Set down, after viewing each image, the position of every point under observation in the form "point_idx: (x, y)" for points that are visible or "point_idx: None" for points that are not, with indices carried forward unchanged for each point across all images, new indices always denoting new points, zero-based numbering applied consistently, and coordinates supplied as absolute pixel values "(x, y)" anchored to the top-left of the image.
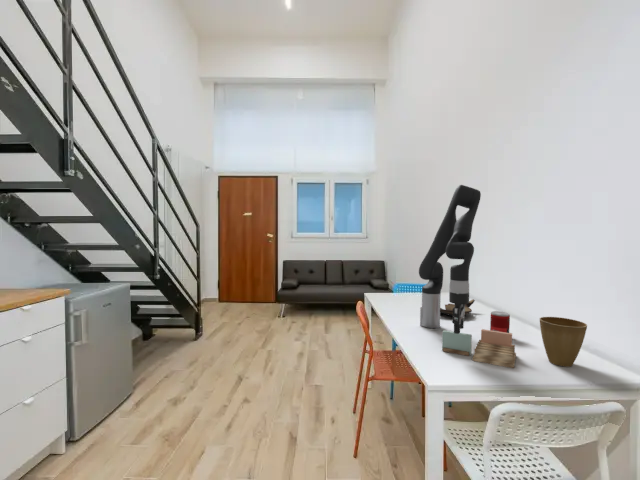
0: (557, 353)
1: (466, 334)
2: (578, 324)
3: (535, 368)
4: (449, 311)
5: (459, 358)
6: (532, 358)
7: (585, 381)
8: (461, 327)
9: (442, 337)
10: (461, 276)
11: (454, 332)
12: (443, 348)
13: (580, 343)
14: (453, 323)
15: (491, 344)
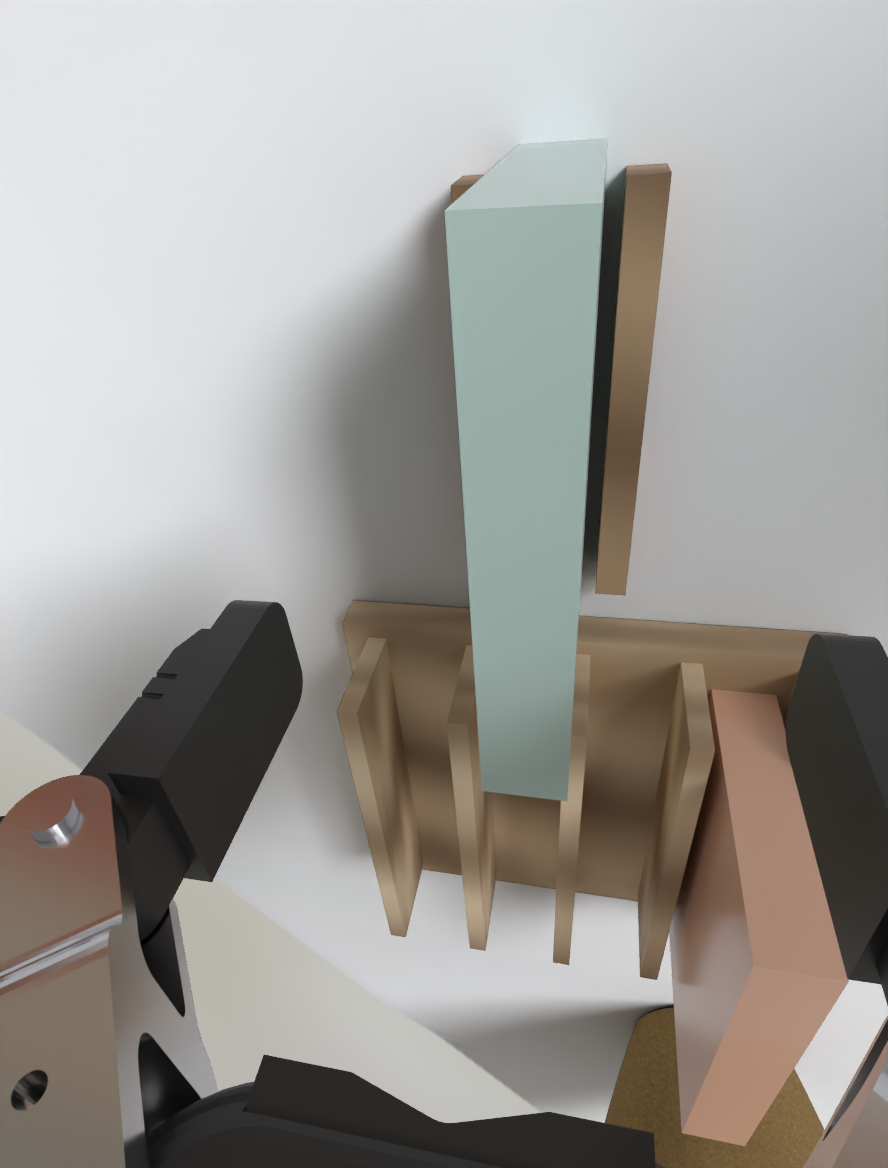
0: (609, 1117)
1: (515, 738)
2: None
3: (495, 927)
4: None
5: (319, 475)
6: None
7: (441, 1028)
8: (794, 724)
9: (480, 183)
10: None
11: (232, 613)
12: (453, 200)
13: None
14: (45, 786)
15: (667, 852)
